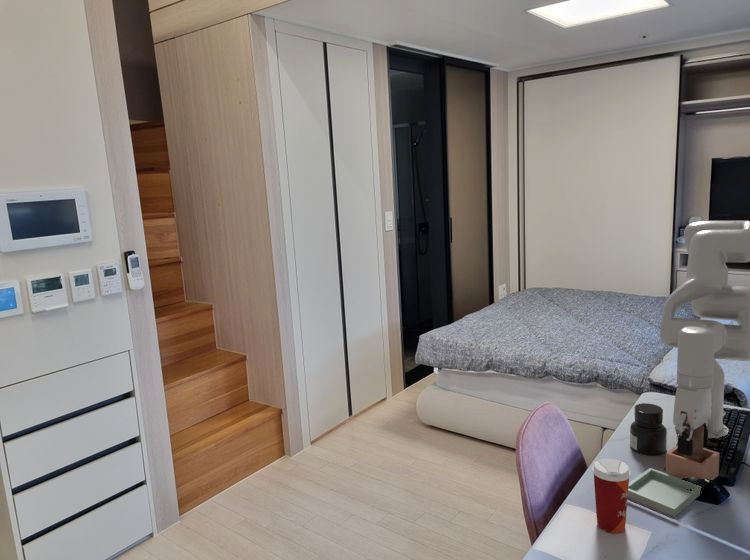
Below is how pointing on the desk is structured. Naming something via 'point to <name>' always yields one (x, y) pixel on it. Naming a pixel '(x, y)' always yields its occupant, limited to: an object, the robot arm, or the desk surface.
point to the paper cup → (611, 494)
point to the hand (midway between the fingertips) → (692, 447)
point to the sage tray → (662, 492)
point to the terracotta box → (692, 465)
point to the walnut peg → (696, 444)
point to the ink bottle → (648, 430)
